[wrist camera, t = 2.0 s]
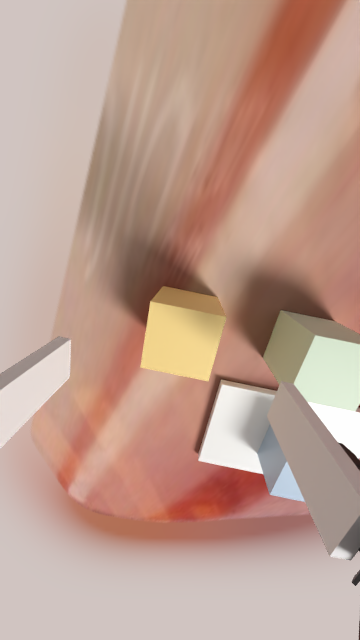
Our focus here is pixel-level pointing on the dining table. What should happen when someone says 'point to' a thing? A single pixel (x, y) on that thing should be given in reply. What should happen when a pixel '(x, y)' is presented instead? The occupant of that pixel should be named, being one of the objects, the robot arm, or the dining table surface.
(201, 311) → the ochre brick
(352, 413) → the plate
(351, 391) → the sage brick
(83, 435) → the dining table surface
